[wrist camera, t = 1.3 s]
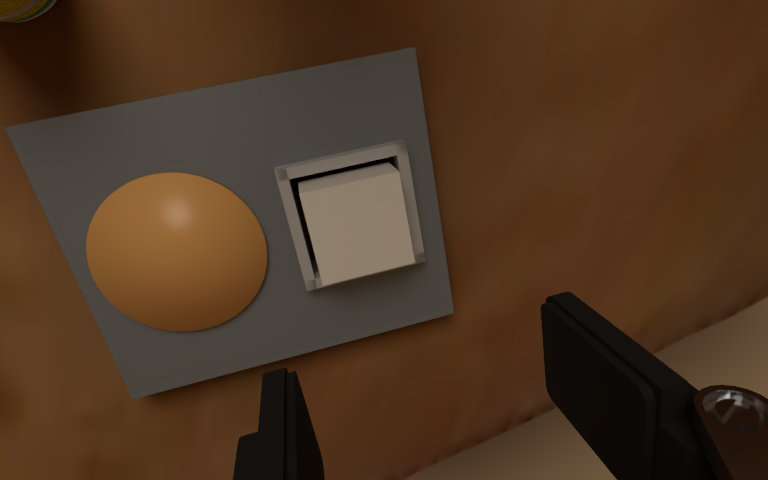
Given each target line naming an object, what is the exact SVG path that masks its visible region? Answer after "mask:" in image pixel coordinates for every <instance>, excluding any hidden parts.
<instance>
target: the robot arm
mask: <svg viewBox="0 0 768 480" xmlns="http://www.w3.org/2000/svg"><path fill="white" fill-rule="evenodd" d="M541 319H542V333H543V348H544V362H545V377H546V388H547V391H548V394H549V396H550V398H551V399H552V401H553V402H554V403H555V404H556V406H557V407H558V408H559V409H560V410H561V412H562V413H563V414H564V415H565V417H566V418H567V419H568V420H569V421H570V423H571V424H572V425H573V426H574V428H575V429H576V430H577V431H578V432H579V434H580V435H581V436H582V437H583V439H584V440H585V441H586V442H587V443H588V445H589V446H590V447H591V448H592V450H593V451H594V452H595V453H596V454H597V456H598V457H599V458H600V459H601V461H602V462H603V463H604V464H605V465H606V467H607V468H608V469H609V470H610V472H611V473H612V474H613V475H614V477H615V478H616V479H617V480H768V399H767V398H765V397H763V396H762V395H760V394H758V393H755V392H753V391H751V390H748V389H744V388H740V387H736V386H727V385H715V386H709V387H706V388H703V389H701V390H700V391H698V390H697V389H696V388H694V387H693V386H692V385H690V384H689V383H688V382H687V381H686V380H685V379H684V378H682V377H681V376H680V375H678V374H677V373H676V372H674V371H673V370H672V369H671V368H669V367H668V366H667V365H665V364H664V363H663V362H661V361H660V360H659V359H657V358H656V357H655V356H653V355H652V354H651V353H650V352H648V351H647V350H646V349H644V348H643V347H642V346H640V345H639V344H638V343H636V342H635V341H634V340H632V339H631V338H630V337H629V336H627V335H626V334H625V333H623V332H622V331H621V330H619V329H618V328H617V327H615V326H614V325H613V324H612V323H610V322H609V321H608V320H606V319H605V318H604V317H602V316H601V315H600V314H598V313H597V312H596V311H594V310H593V309H592V308H591V307H589V306H588V305H587V304H585V303H584V302H583V301H581V300H580V299H579V298H577V297H576V296H575V295H573V294H572V293H570V292H564V293H560V294H557V295H553V296H549V297H547V299H546V303H544V304H542V305H541ZM233 480H325V479H324V468H323V461H322V456H321V452H320V449H319V446H318V442H317V439H316V436H315V432H314V429H313V426H312V423H311V419H310V416H309V413H308V409H307V406H306V403H305V399H304V396H303V393H302V390H301V386H300V383H299V380H298V376H297V374H296V372H295V371H294V372H290V373H288V371H287V369H286V368H282V369H278V370H275V371H271V372H267V373H264V374H263V380H262V392H261V403H260V415H259V427H258V432H255V433H252V434H248V435H245V436H241V437H240V438H239V442H238V447H237V454H236V461H235V469H234V476H233Z"/></svg>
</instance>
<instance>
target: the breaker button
mask: <svg viewBox="0 0 768 480" xmlns="http://www.w3.org/2000/svg"><path fill="white" fill-rule="evenodd" d="M298 187H299V196H300V199H301V203H302V207H303V211H304V215H305V219H306V223H307V227H308V230H309V234H310V238H311V242H312V246H313V250H314V254H315V258H316V261H317V265H318V269H319V273H320V277H321V281H322V285H323V286H325V285H329V284H333V283H337V282H341V281H345V280H349V279H353V278H357V277H361V276H365V275H369V274H373V273H377V272H381V271H385V270H389V269H393V268H397V267H400V266H404V265H408V264H412V263H415V259H414V253H413V247H412V242H411V236H410V230H409V224H408V219H407V213H406V207H405V201H404V196H403V190H402V184H401V178H400V173H399V171H398V170H397V169H396V168H395V167H393V166H392V165H391V164H390V163H389V162H385V163H381V164H376V165H372V166H367V167H363V168H359V169H354V170H350V171H345V172H341V173H336V174H332V175H327V176H323V177H318V178H314V179H309V180H305V181H301V182H298Z"/></svg>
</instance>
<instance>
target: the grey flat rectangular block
mask: <svg viewBox="0 0 768 480" xmlns="http://www.w3.org/2000/svg"><path fill="white" fill-rule="evenodd" d="M5 130H6V132H7V134H8V136H9V138H10V140H11V142H12V144H13V147H14V149H15V151H16V153H17V155H18V157H19V159H20V161H21V164H22V166H23V168H24V170H25V172H26V174H27V176H28V178H29V181H30V183H31V185H32V187H33V189H34V191H35V193H36V195H37V198H38V200H39V202H40V204H41V206H42V208H43V210H44V212H45V215H46V217H47V219H48V221H49V223H50V225H51V227H52V229H53V232H54V234H55V236H56V238H57V240H58V242H59V244H60V246H61V249H62V251H63V253H64V255H65V257H66V259H67V261H68V263H69V266H70V268H71V270H72V272H73V274H74V276H75V278H76V280H77V283H78V285H79V287H80V289H81V291H82V293H83V295H84V297H85V300H86V302H87V304H88V306H89V308H90V310H91V312H92V314H93V317H94V319H95V321H96V323H97V325H98V327H99V329H100V331H101V334H102V336H103V338H104V340H105V342H106V344H107V346H108V348H109V351H110V353H111V355H112V357H113V359H114V361H115V363H116V365H117V368H118V370H119V372H120V374H121V376H122V378H123V380H124V382H125V385H126V387H127V389H128V391H129V393H130V395H131V397H132V399H136V398H140V397H144V396H148V395H151V394H155V393H159V392H162V391H166V390H170V389H174V388H177V387H181V386H185V385H189V384H192V383H196V382H200V381H204V380H207V379H211V378H215V377H218V376H222V375H226V374H230V373H233V372H237V371H241V370H245V369H248V368H252V367H256V366H260V365H263V364H267V363H271V362H275V361H278V360H282V359H286V358H289V357H293V356H297V355H301V354H304V353H308V352H312V351H316V350H319V349H323V348H327V347H331V346H334V345H338V344H342V343H345V342H349V341H353V340H357V339H360V338H364V337H368V336H372V335H375V334H379V333H383V332H387V331H390V330H394V329H398V328H401V327H405V326H409V325H413V324H416V323H420V322H424V321H428V320H431V319H435V318H439V317H443V316H446V315H450V314H454V308H453V301H452V295H451V288H450V281H449V274H448V267H447V261H446V254H445V247H444V240H443V233H442V227H441V220H440V213H439V206H438V199H437V193H436V186H435V179H434V172H433V165H432V159H431V152H430V145H429V138H428V131H427V125H426V118H425V111H424V104H423V97H422V91H421V84H420V77H419V70H418V63H417V57H416V50H415V47H411V48H406V49H401V50H396V51H391V52H386V53H380V54H375V55H370V56H365V57H360V58H355V59H350V60H345V61H340V62H334V63H329V64H324V65H319V66H314V67H309V68H304V69H299V70H294V71H288V72H283V73H278V74H273V75H268V76H263V77H258V78H253V79H248V80H242V81H237V82H232V83H227V84H222V85H217V86H212V87H207V88H202V89H196V90H191V91H186V92H181V93H176V94H171V95H166V96H161V97H156V98H150V99H145V100H140V101H135V102H130V103H125V104H120V105H115V106H110V107H104V108H99V109H94V110H89V111H84V112H79V113H74V114H69V115H64V116H58V117H53V118H48V119H43V120H38V121H33V122H28V123H23V124H18V125H12V126H7V127H5ZM383 158H388V162H389V163H390V164H391V165H392V166H393V167H395V168H396V169H397V170H398V171H399V173H400V178H401V184H402V190H403V196H404V201H405V207H406V213H407V219H408V224H409V230H410V236H411V242H412V247H413V253H414V259H415V263H412V264H408V265H404V266H400V267H397V268H393V269H389V270H385V271H381V272H377V273H373V274H369V275H365V276H361V277H357V278H353V279H349V280H345V281H341V282H337V283H333V284H329V285H325V286H323V285H322V281H321V277H320V273H319V269H318V265H317V261H316V259H314V260H312V256H311V252H310V249H309V245H308V241H307V237H306V233H305V229H304V226H303V222H302V218H301V214H300V210H299V206H298V203H297V199H296V195H295V191H294V187H293V184H292V180H291V179H294V178H298V177H303V176H307V175H312V174H316V173H320V172H325V171H329V170H334V169H338V168H343V167H347V166H352V165H356V164H361V163H365V162H370V161H374V160H379V159H383Z"/></svg>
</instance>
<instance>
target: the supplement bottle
mask: <svg viewBox="0 0 768 480" xmlns="http://www.w3.org/2000/svg"><path fill="white" fill-rule="evenodd" d="M56 1H57V0H0V21H1V22H24V21H28V20H31V19H34V18H36V17H38V16H40V15H42V14H43V13H45V12H47V11H48V10H49V9H50V8H51V7H52V6H53V5H54V4H55V3H56Z"/></svg>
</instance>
